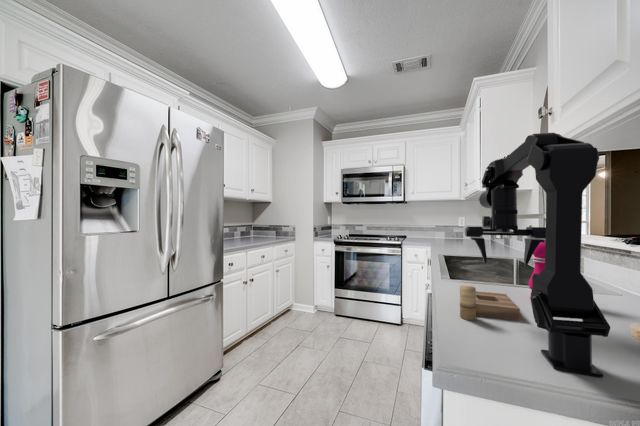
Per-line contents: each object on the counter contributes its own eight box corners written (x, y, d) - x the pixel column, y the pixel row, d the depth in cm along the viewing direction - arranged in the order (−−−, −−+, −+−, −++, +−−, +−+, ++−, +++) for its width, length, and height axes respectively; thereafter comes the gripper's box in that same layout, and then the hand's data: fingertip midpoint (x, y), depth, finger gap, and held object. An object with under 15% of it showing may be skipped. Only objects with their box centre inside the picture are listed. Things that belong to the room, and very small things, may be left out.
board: (519, 320, 68) (519, 308, 68) (466, 313, 72) (466, 302, 72) (505, 303, 81) (505, 293, 81) (461, 299, 85) (461, 289, 85)
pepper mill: (564, 304, 80) (563, 238, 80) (537, 303, 82) (536, 237, 82) (549, 297, 87) (548, 236, 87) (524, 296, 89) (523, 236, 89)
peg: (477, 321, 67) (476, 289, 67) (460, 319, 69) (460, 288, 69) (474, 316, 71) (474, 286, 71) (459, 314, 72) (459, 284, 72)
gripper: (536, 207, 76) (537, 262, 76) (463, 208, 84) (463, 258, 84) (551, 205, 66) (552, 268, 66) (466, 206, 74) (467, 263, 73)
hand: (505, 263), depth 72 cm, fingers open, 9 cm apart
